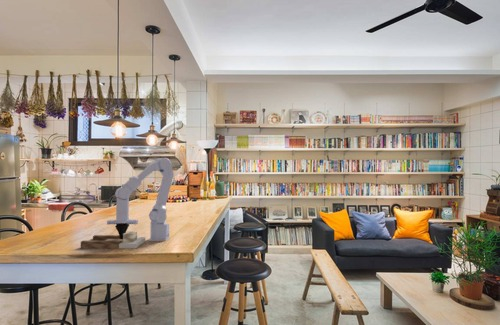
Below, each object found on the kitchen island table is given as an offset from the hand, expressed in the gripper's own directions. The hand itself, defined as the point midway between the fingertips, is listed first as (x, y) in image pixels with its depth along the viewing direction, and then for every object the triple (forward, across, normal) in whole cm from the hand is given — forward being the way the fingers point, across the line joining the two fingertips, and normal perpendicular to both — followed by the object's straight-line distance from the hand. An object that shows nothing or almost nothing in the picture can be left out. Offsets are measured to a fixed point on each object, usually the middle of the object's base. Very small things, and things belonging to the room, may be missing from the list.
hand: (122, 238), depth 141 cm
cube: (+1, +4, 0) cm, 4 cm away
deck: (+3, -4, 0) cm, 5 cm away
